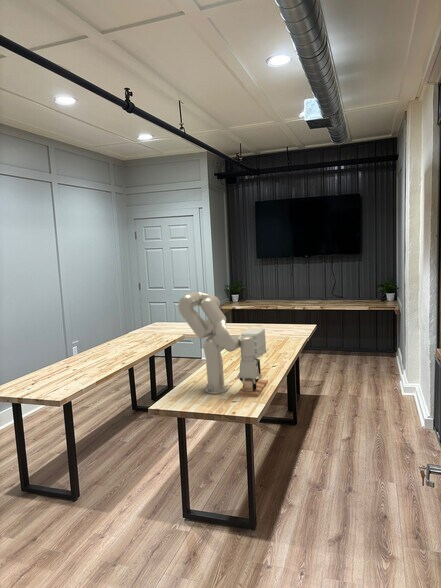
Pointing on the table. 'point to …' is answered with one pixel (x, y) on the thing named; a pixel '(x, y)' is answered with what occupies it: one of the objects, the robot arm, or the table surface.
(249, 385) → the block
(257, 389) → the board
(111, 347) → the table surface
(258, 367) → the electronic device
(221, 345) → the robot arm
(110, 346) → the table surface
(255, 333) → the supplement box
